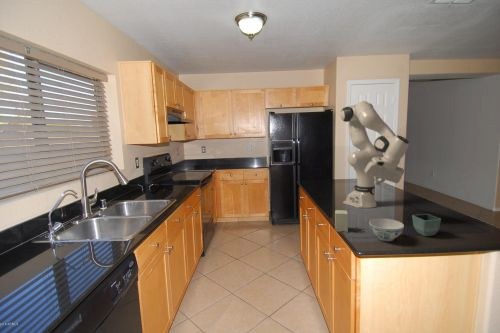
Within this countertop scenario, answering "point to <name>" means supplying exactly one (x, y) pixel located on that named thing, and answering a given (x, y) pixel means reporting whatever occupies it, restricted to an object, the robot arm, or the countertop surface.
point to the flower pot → (426, 224)
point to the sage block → (341, 220)
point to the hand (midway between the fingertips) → (376, 184)
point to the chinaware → (386, 228)
